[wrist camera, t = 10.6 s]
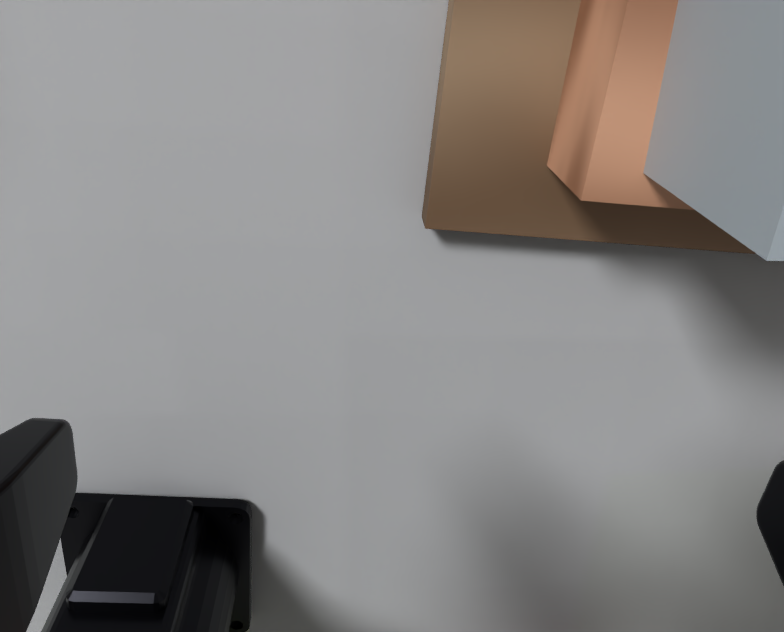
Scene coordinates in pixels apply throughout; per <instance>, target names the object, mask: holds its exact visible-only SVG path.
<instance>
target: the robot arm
mask: <svg viewBox="0 0 784 632" xmlns="http://www.w3.org/2000/svg"><path fill="white" fill-rule="evenodd" d="M76 487H77V467H76V459H75V450H74V442H73V433H72V429H71V426H70V424H69V423H68V422H67V421H66V420H63V419H47V418H32V419H29V420H27V421H24V422H23V423H21V424H19V425H17V426H15V427H13V428H12V429H10V430H8V431H6V432H4V433H2V434H1V435H0V632H26V630H27V628H28V626H29V624H30V621H31V619H32V617H33V614H34V612H35V609H36V607H37V604H38V601H39V598H40V596H41V593H42V590H43V587H44V584H45V581H46V578H47V575H48V572H49V569H50V566H51V564H52V561H53V558H54V555H55V552H56V549H57V546H58V543H59V540H60V537H61V543H62V549H63V555H64V560H65V566H66V572H67V578H66V580H65V582H64V584H63V586H62V589H61V591H60V593H59V595H58V597H57V599H56V601H55V603H54V606H53V608H52V610H51V612H50V614H49V616H48V618H47V620H46V623H45V625H44V627H43V629H42V631H41V632H246V631H247V630H248V629H249V626H250V620H251V519H252V511H251V507H250V505H249V504H248V503H247V502H245V501H243V500H238V499H215V498H190V497H164V496H139V495H114V494H88V493H75V492H76ZM71 507H75V508H76V509H78V510H76V509H72V508H71ZM232 513H238V514H240V515H238V516H237V515H233V514H232ZM757 522H758V526H759V529H760V531H761V533H762V536H763V538H764V541H765V543H766V545H767V548H768V550H769V552H770V555H771V557H772V560H773V562H774V564H775V567H776V569H777V571H778V574H779V576H780V579H781V581H782V583H783V586H784V460H783V461H781V462H780V463H779V464H778V465H776V467H775V469H774V471H773V473H772V475H771V478H770V480H769V482H768V484H767V486H766V489H765V491H764V493H763V495H762V497H761V499H760V502H759V504H758V507H757Z"/></svg>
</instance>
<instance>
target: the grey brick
mask: <svg viewBox="0 0 784 632" xmlns="http://www.w3.org/2000/svg"><path fill="white" fill-rule="evenodd" d="M643 173H644V174H645V175H647V176H648V177H650V178H651V179H652V180H654V181H655V182H657V183H658V184H659V185H661V186H662V187H664V188H665V189H666V190H668V191H669V192H671V193H672V194H673V195H675V196H676V197H678V198H679V199H680V200H682V201H683V202H685V203H686V204H687V205H689V206H690V207H692V208H693V209H695V210H696V211H697V212H699V213H700V214H702V215H703V216H704V217H706V218H707V219H709V220H710V221H711V222H713V223H714V224H716V225H717V226H718V227H720V228H721V229H723V230H724V231H725V232H727V233H728V234H730V235H731V236H732V237H734V238H735V239H737V240H738V241H739V242H741V243H742V244H744V245H745V246H746V247H748V248H749V249H751V250H752V251H754V252H755V253H756V254H758V255H759V256H761V257H762V258H763V259H765V260H766V261H784V0H678V5H677V10H676V15H675V20H674V25H673V29H672V34H671V39H670V44H669V49H668V54H667V59H666V64H665V69H664V74H663V78H662V83H661V88H660V93H659V98H658V103H657V108H656V113H655V118H654V123H653V127H652V132H651V137H650V142H649V147H648V152H647V157H646V162H645V167H644V172H643Z"/></svg>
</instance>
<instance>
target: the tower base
mask: <svg viewBox="0 0 784 632" xmlns="http://www.w3.org/2000/svg"><path fill="white" fill-rule="evenodd" d="M677 5H678V0H449V3H448V11H447V19H446V27H445V35H444V43H443V51H442V59H441V67H440V75H439V83H438V91H437V99H436V107H435V115H434V123H433V131H432V139H431V147H430V155H429V163H428V171H427V179H426V187H425V195H424V203H423V211H422V219H423V222H424V226H425V228H426V229H439V230H452V231H465V232H478V233H491V234H504V235H517V236H530V237H543V238H556V239H569V240H582V241H594V242H607V243H620V244H633V245H646V246H659V247H672V248H685V249H698V250H711V251H724V252H737V253H750V254H756V253H755V252H754V251H752V250H751V249H749V248H748V247H746V246H745V245H744V244H742V243H741V242H739V241H738V240H737V239H735V238H734V237H732V236H731V235H730V234H728V233H727V232H725V231H724V230H723V229H721V228H720V227H718V226H717V225H716V224H714V223H713V222H711V221H710V220H709V219H707V218H706V217H704V216H703V215H702V214H700V213H699V212H697V211H696V210H695V209H693V208H692V207H690V206H689V205H687V204H686V203H685V202H683V201H682V200H680V199H679V198H678V197H676V196H675V195H673V194H672V193H671V192H669V191H668V190H666V189H665V188H664V187H662V186H661V185H659V184H658V183H657V182H655V181H654V180H652V179H651V178H650V177H648V176H647V175H645V174H644V173H643V172H644V167H645V162H646V157H647V152H648V147H649V142H650V137H651V132H652V127H653V123H654V118H655V113H656V108H657V103H658V98H659V93H660V88H661V83H662V78H663V74H664V69H665V64H666V59H667V54H668V49H669V44H670V39H671V34H672V29H673V25H674V20H675V15H676V10H677Z"/></svg>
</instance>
